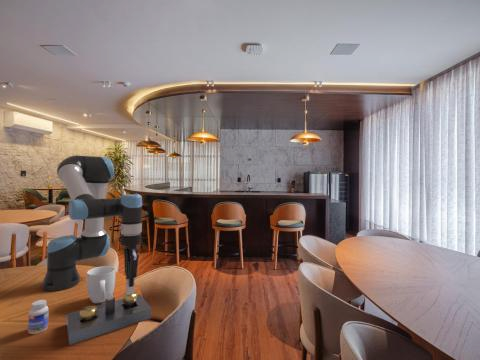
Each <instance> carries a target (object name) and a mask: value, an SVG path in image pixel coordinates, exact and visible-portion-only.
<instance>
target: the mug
mask: <svg viewBox="0 0 480 360" xmlns="http://www.w3.org/2000/svg"><path fill="white" fill-rule="evenodd" d="M115 286H116V268H115V267H114V266H113V265H111V266H110V265H102V266H101V265H100V266H97V267H93V268H90V269H89V270H87V272H86V291H87V294H88V297H89V299H90V301H91V302H92V303H93V304H104V303H105V300H106V299H107V295H108V294H114V293H113V292H114V290H115Z"/></svg>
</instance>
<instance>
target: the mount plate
mask: <svg viewBox="0 0 480 360" xmlns="http://www.w3.org/2000/svg"><path fill="white" fill-rule="evenodd" d="M95 306H96V307H97V315H96V316H95V317H94V318H93V319H92V320H89V321H85V322H84V320H80V310H81V309H79V310H75V311H72V312H68V313H66V331H67V337H68V338H67V339H68V346H69V347H70V346H72V345H76V344H78V343H82V342H84V341H87V340H90V339H94V338H97V337H99V336H103V335H106V334H108V333H111V332H114V331H117V330H121V329H123V328H124V329H125V328H126V327H129V326H132V325H136V324H138V322H139V323H142V322H145V321H148V320H151V319H152V307H151V306H150V305H149V304H148V302H147V301H146V300H145V298H144V296H142V294H137V300H136V301H135V302H134V307H133V308H130V309H126V303H123V298H121V299H117V300H115V311H114V312H112V313H105V303H100V304H99V305H95Z"/></svg>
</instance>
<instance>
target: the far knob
mask: <svg viewBox="0 0 480 360" xmlns="http://www.w3.org/2000/svg"><path fill="white" fill-rule="evenodd" d="M137 295H138V292H137V291H136V290H134V294H130V295H126V292H124V293H123V294H122V299H123V303H126V309H130V308H133V307H134V302H135V301H136V300H137Z"/></svg>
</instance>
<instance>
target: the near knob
mask: <svg viewBox="0 0 480 360" xmlns="http://www.w3.org/2000/svg"><path fill="white" fill-rule="evenodd" d="M96 306H97V305H88V306H85V307H82V308H81V309H79V310H80V320H84V322H85V321H89V320H92V319H93V318H94V317H95V316H96V315H97V307H96Z"/></svg>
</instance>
